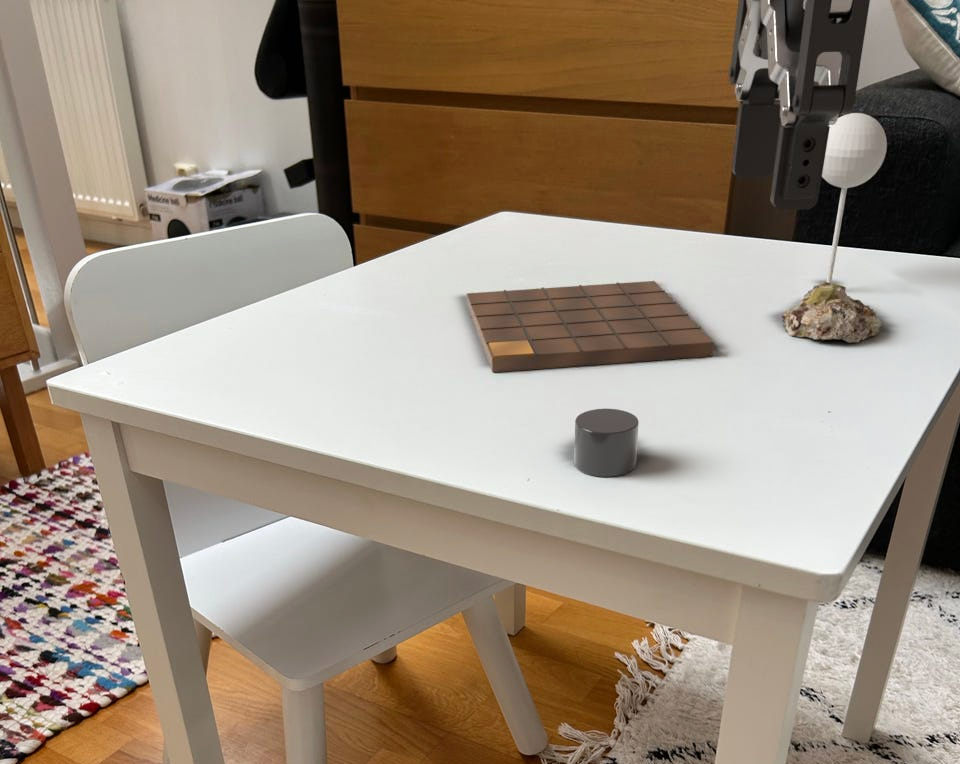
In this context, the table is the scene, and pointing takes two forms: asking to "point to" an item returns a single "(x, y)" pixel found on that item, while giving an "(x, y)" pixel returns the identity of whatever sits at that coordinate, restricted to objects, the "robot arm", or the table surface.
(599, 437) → the dark grey cylinder
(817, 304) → the mineral rock
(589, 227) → the table surface
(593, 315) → the board
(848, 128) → the lollipop
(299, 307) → the table surface
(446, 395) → the table surface
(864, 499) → the table surface
